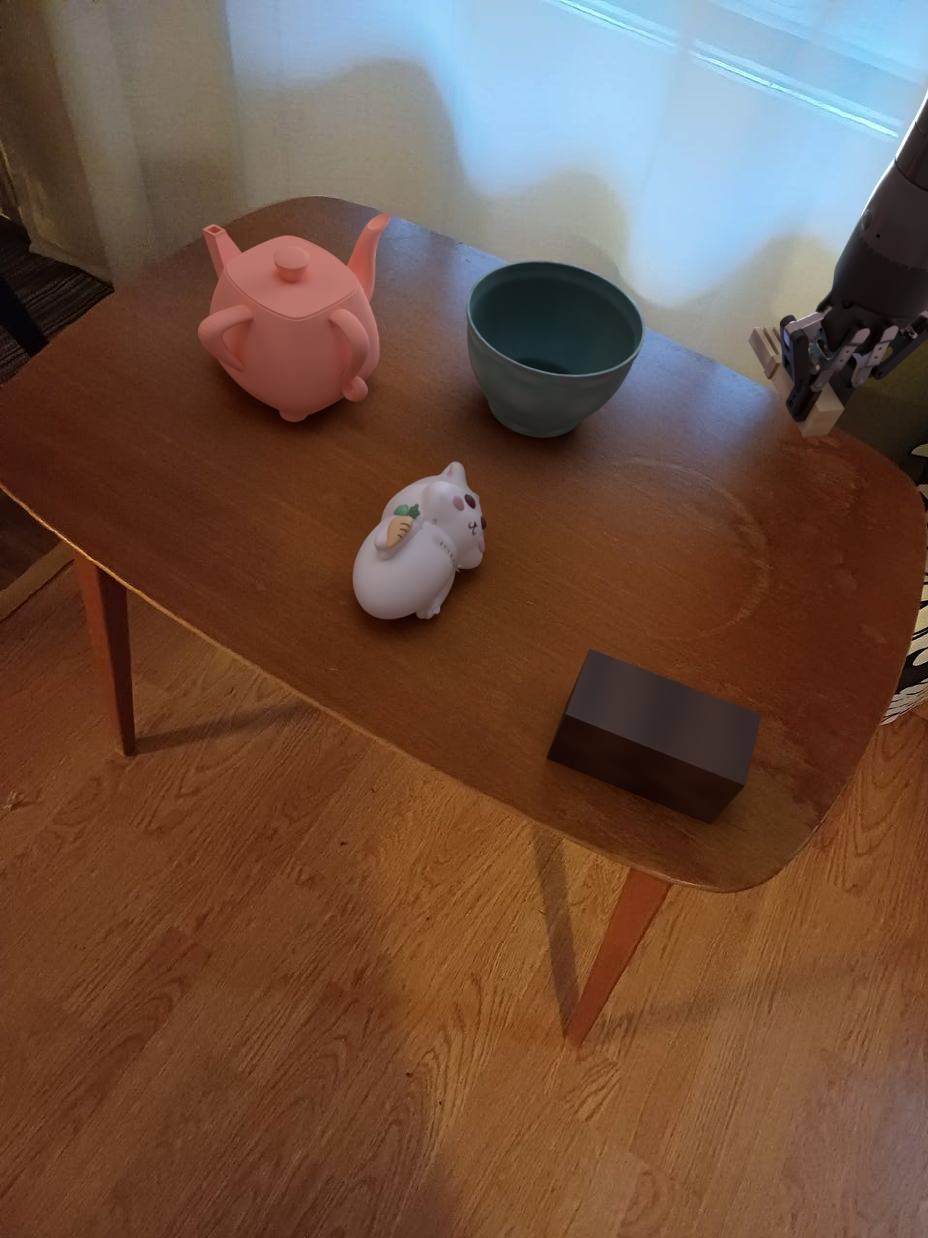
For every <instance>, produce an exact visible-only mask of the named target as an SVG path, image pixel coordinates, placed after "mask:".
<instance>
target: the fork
mask: <svg viewBox="0 0 928 1238" xmlns="http://www.w3.org/2000/svg"><path fill="white" fill-rule="evenodd" d="M747 341H748V342H747V343H749V345H750V347H751V349H752V351H753V352H754V354H755V356H756V358H757V360H758V361H759V363H760V365H761V366H762V368H763V374H764V376H765V377H766V379H767V380H770V381H771V383H772V384H773V386H774V388H775V389H776V391H777V393H778V394H779V397H780V398H781V401H782V403H784V405H785V406H786V400H787V398H788V397H789V394H790V393H791V391H792V389H793V387H794V385H795V384H794V383H793V381H792V380H791V378H790V377H789V375H788V373H787V372H786V370H785V369H784V367H783V364H782V350H781V336H780V324H778V325H773V327H771V326H770V325H766V326H763V328H761V327H760V326H755V327H753V330H752V332H751V334H750V336H749V338H748V340H747ZM819 368H820V365H819V363H818V364H817V366H816V369H817V370H819ZM844 410H845V407H843V405H842V404H841V402H840V400H839V399H838V397H837V396H836V394H835V392H834V391H833V389H832V387H831V386H830V384H829V382H827V383H826V385H825V386H824V387H823V388H822V393H821V395H820V396H819V398H818V400H817V402H816V403H815V404H814V406H813V408H812V409H811V411H810V413H809V415H808V417H807V418H806V420H805V421H804V422H795V421H794V419H793V418H792V420H793V421H794V423H795V425H796V427H797V428H798V430H799V433H800V434H801V436H802V438H812V437H819V436H820V437H821V436H827V435H829V433H830V432H831V430H832V429H833V427H834V426H835V424H836V423H837V421H838V420H839V418H840V417H841V415H842V414H843V412H844Z"/></svg>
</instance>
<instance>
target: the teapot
mask: <svg viewBox="0 0 928 1238" xmlns="http://www.w3.org/2000/svg"><path fill="white" fill-rule="evenodd" d="M390 221H391V214H389V213H387V212H383V213H380V214H378V215H375V216H374V217H373V218H372V219H370V220H368V222H367V223H366V225H365V226H364V228H363V229H362V231H361V232H360V235H359V237H358V238H357V240H356V243H355V246H354V249H353V251H352V253H351V255H350V258H349V260H348V262H347V264H345V263H344V262H343V261H341V260H340V259H339V258H338V257H336V256H335V255H334V254H333V253H331V252H330V251H328V250H326V249H325V248H322V246H319V245H317V244H315V243H313V242H311V241H309V240H307V239H305V238H302V237H298V236H294V235H281V236H277V237H274V238H271V239H269V240H266V241H264V242H262V243H259V244H257V245H255V246H253V247H251V248H249V249H247V250H245V251H243V252H242V251H241V250H240V248H239V247H238V246H237V245H236V243H235V242H234V241H233V240H232V238H231V236H230V235H229V234H228V233H227V230H226V229H224V228H223V227H221V226H219V225H217V224H215V223H212V224H210V225H208V226H206V227H204V228H202V233H203V236H204V239H205V242H206V245H207V249H208V252H209V254H210V255H209V256H210V258H211V261H212V264H213V267H214V270H215V273H216V276H217V279H218V281H217V283H216V286H215V288H214V291H213V295H212V299H211V302H210V308H209V315H208V316H207V317H205V318H204V319H203V320H202V321H201V322H200V323H199V326H198V327H197V328H198V330H197V335H198V339H199V341H200V343H201V345H202V346H203V347H204V349H205V350H206V351H207V352H208V353H209V354H210V355H212V356H213V357H214V358H215V359H217V361H218V362H219V364H220V365H221V367H222V368H223V369H224V370H225V371H226V372H227V373H228V375H229V376H230V377H231V378H232V379H233V381H234V382H236V383H237V384H238V386H240V387H241V388H242V389H243V390H244V391H245V392H246V393H248V394H250V395H251V396H252V397H254V398H255V399H257V400H258V401H260V402H262V403H264V404H265V405H267V406H270V407H271V408H274V409H275V410H277V411H279V415H280V417H281V418H282V419H283V420H285V421H286V422H293V423H297V422H301V421H304V420H305V419H306V418H307V417H308V416H309V415H312V414H314V413H317V412H319V411H322V410H323V409H324V410H325V409H326V408H328V407H330V406H331V405H333V404H335V403H337V402H339V401H341V400H343V398H345V399H346V400H348V401H350V402H353V403H358V402H362V401H363V400H365V399H366V397H367V396H368V393H369V387H368V386H367V384H366V381H367V379H368V378H369V377H370V376H371V375H372V373H373V372H374V370H375V369H376V368H377V366H378V364H379V360H380V337H379V330H378V326H377V322H376V318H375V315H374V312H373V309H372V307H371V304H370V302H371V300H372V298H373V294H374V291H375V284H376V283H375V282H376V256H377V248H378V243H379V240H380V238H381V236H382V233H383V232H384V230H385V229H386V227H387V226H388V224H389V222H390Z"/></svg>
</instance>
